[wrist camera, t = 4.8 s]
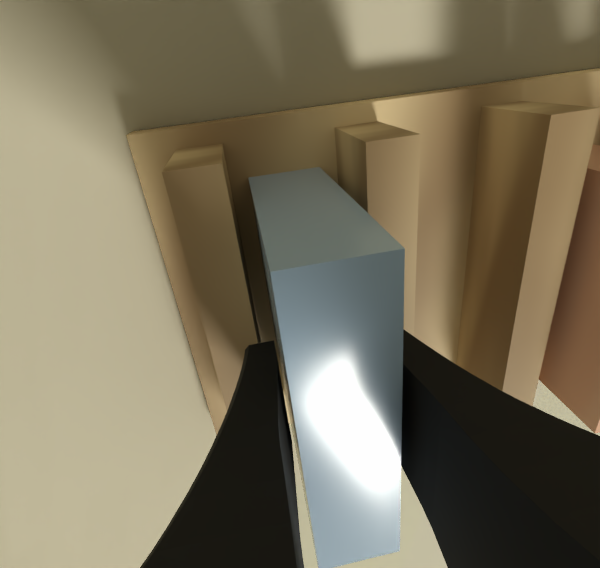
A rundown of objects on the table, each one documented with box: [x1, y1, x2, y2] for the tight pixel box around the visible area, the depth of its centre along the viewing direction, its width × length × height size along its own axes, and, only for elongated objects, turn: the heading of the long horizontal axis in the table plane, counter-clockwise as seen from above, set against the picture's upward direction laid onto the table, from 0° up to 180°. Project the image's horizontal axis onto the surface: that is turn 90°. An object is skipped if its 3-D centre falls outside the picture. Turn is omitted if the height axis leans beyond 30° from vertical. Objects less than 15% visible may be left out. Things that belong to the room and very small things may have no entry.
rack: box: [126, 68, 600, 434], centre depth 12 cm, size 16×11×4 cm
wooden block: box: [539, 144, 600, 433], centre depth 12 cm, size 2×7×4 cm, turn 6°
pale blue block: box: [248, 167, 405, 568], centre depth 10 cm, size 2×8×6 cm, turn 6°
